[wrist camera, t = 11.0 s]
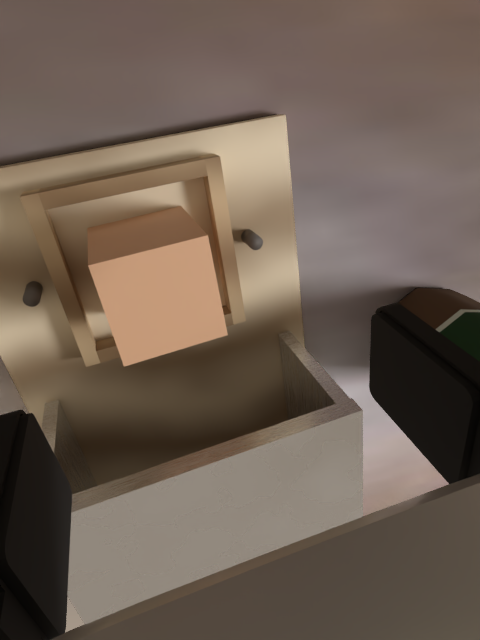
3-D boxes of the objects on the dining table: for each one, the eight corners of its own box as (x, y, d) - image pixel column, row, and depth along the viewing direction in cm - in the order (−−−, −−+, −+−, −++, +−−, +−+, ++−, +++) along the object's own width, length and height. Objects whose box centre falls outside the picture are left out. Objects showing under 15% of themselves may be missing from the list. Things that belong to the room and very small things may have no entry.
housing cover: (43, 403, 26) (25, 528, 18) (290, 330, 29) (362, 410, 21) (98, 521, 31) (103, 654, 23) (302, 447, 34) (363, 544, 27)
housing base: (-79, 181, 20) (-98, 190, 18) (278, 114, 24) (297, 115, 22) (84, 512, 32) (84, 542, 30) (307, 434, 35) (321, 455, 33)
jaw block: (87, 228, 22) (88, 265, 17) (181, 205, 23) (207, 235, 18) (116, 311, 25) (123, 366, 20) (199, 288, 26) (227, 334, 21)
